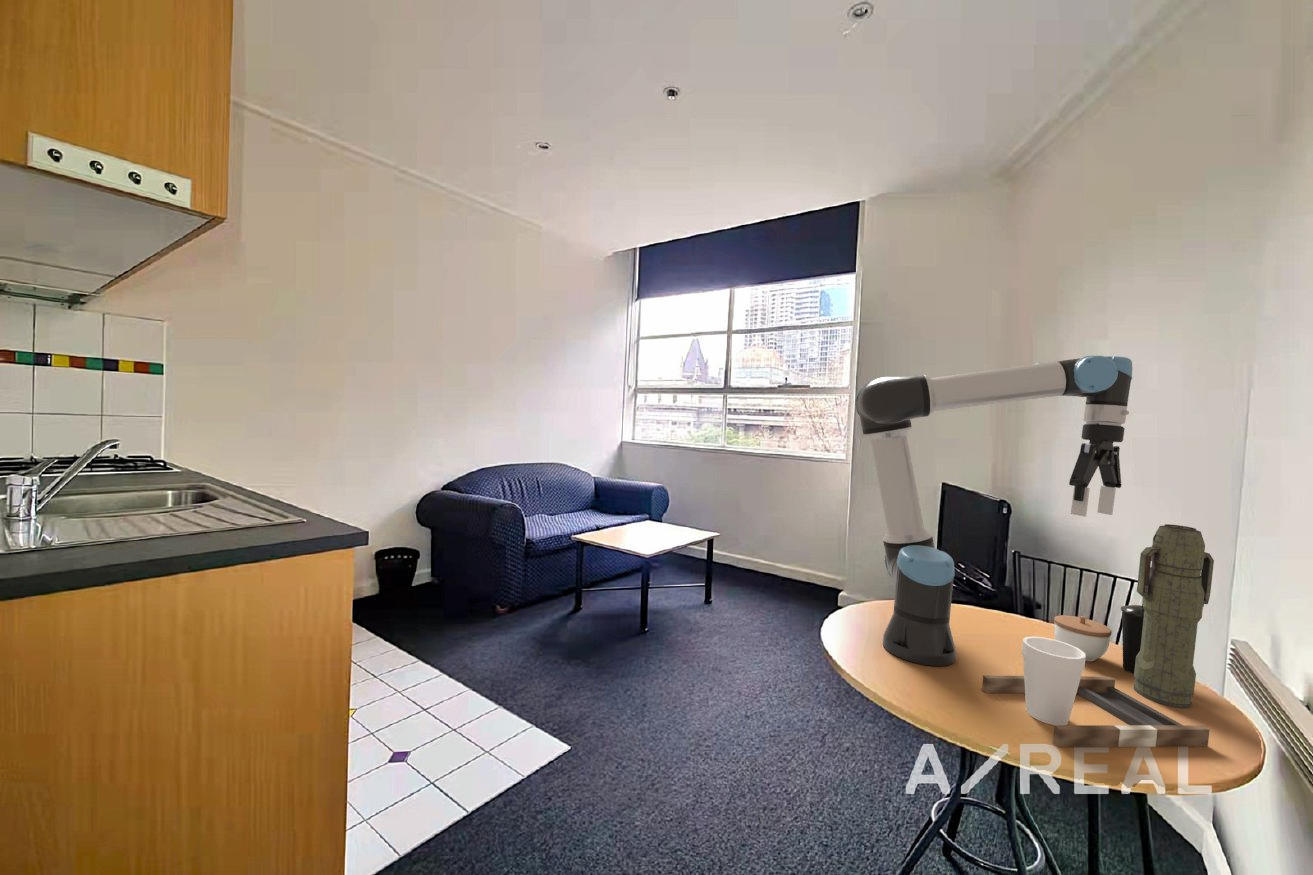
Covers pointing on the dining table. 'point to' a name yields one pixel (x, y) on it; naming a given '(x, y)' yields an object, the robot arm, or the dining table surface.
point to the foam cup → (1051, 678)
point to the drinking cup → (1131, 634)
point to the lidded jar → (1083, 635)
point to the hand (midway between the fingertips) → (1091, 514)
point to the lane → (1142, 719)
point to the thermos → (1171, 613)
